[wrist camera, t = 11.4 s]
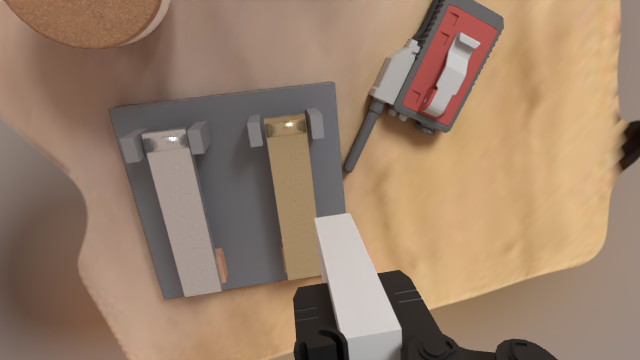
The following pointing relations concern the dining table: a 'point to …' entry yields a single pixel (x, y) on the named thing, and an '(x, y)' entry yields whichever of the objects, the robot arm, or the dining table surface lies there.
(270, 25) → the dining table surface
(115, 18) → the lidded jar
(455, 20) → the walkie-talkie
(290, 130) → the brass strap
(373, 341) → the robot arm
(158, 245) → the mount plate
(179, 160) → the steel strap
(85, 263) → the dining table surface
